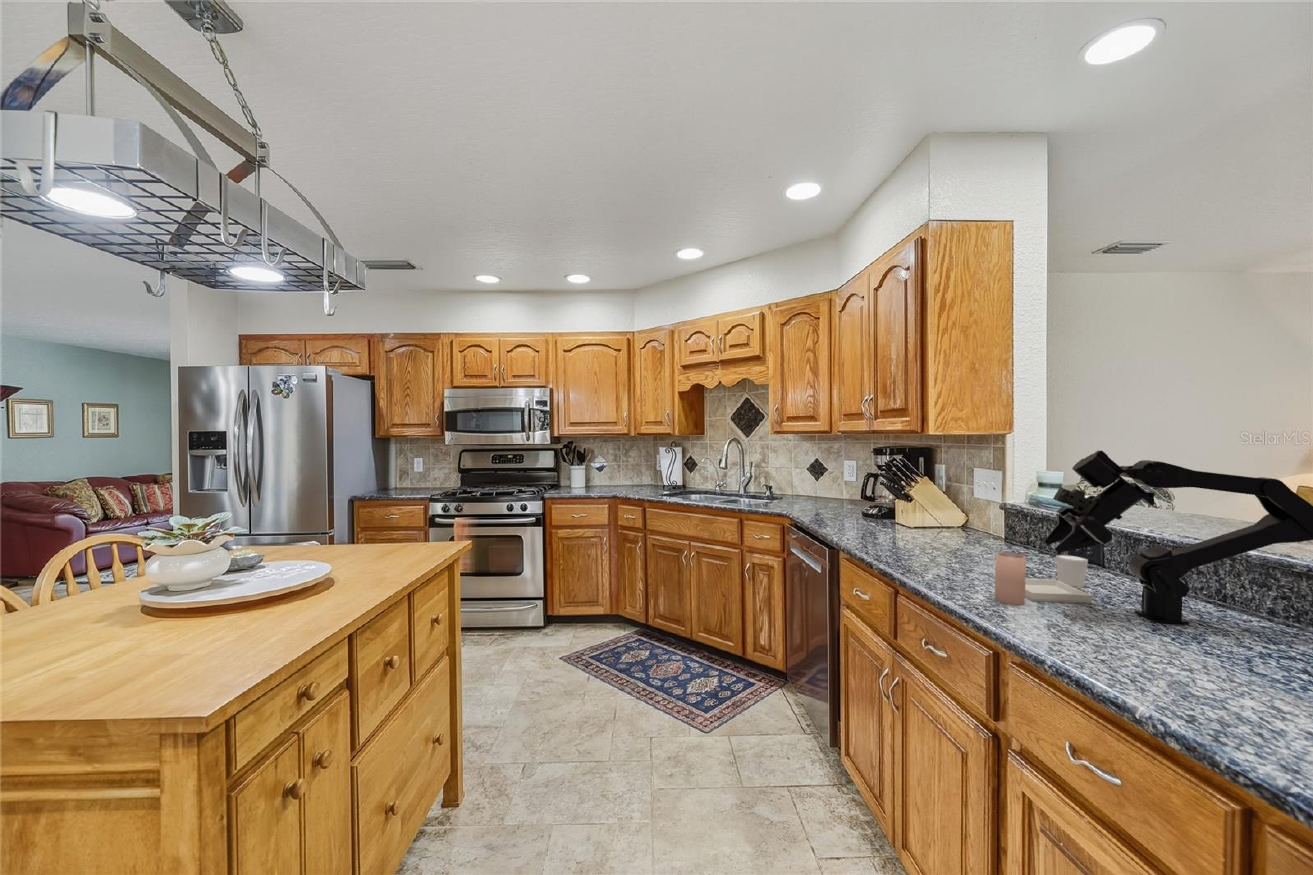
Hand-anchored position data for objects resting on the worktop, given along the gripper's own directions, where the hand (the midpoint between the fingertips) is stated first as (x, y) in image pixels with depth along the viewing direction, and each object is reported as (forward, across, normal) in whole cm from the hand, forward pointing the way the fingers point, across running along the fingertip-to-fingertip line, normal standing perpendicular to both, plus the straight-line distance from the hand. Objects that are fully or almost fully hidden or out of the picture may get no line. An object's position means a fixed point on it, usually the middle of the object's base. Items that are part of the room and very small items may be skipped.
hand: (1050, 547), depth 124 cm
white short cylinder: (+3, -24, +17) cm, 30 cm away
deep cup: (+15, +1, +4) cm, 16 cm away
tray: (+9, -10, +10) cm, 17 cm away
